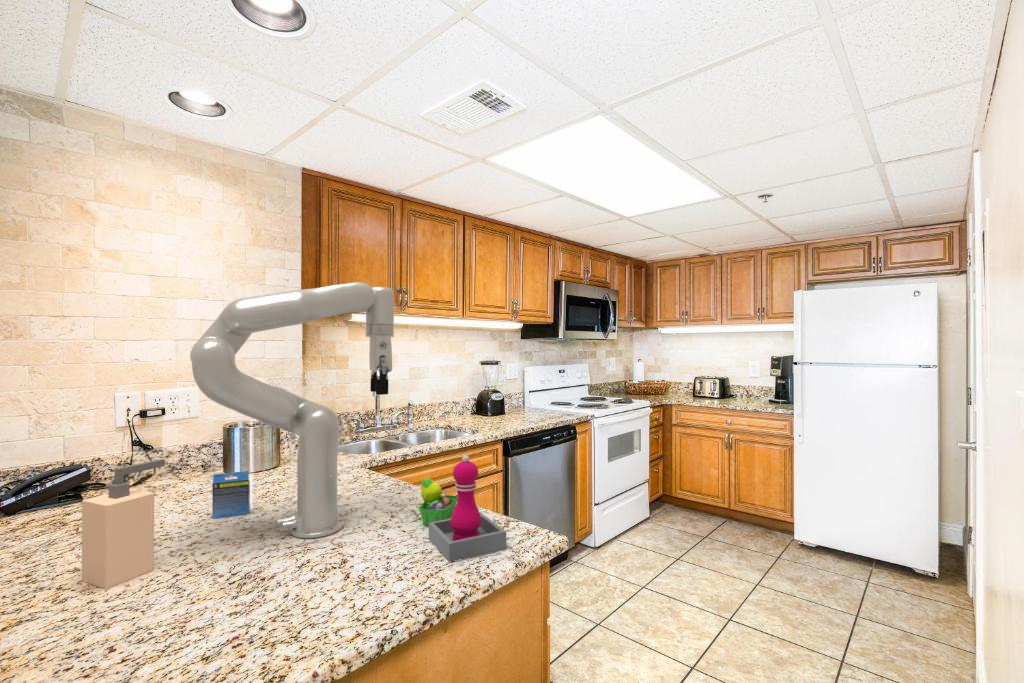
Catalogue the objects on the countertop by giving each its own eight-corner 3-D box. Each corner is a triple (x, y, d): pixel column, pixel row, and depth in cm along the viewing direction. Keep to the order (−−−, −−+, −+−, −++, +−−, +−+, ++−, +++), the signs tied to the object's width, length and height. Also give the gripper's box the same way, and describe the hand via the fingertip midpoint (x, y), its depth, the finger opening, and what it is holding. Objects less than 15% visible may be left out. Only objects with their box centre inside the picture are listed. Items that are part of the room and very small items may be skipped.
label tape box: (250, 510, 134) (250, 467, 134) (249, 514, 131) (249, 470, 131) (214, 515, 130) (214, 470, 131) (211, 519, 127) (212, 474, 127)
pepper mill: (451, 534, 114) (451, 452, 114) (481, 533, 114) (480, 451, 115) (449, 546, 107) (449, 459, 107) (481, 545, 107) (481, 458, 107)
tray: (449, 562, 101) (449, 543, 101) (428, 539, 113) (428, 522, 113) (506, 548, 108) (506, 531, 108) (481, 528, 120) (480, 512, 120)
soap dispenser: (106, 589, 90) (106, 475, 91) (81, 581, 94) (81, 471, 94) (175, 561, 102) (175, 460, 102) (150, 554, 105) (151, 457, 106)
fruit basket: (445, 529, 119) (445, 485, 119) (413, 527, 121) (412, 483, 121) (459, 514, 130) (459, 473, 131) (429, 512, 132) (429, 472, 132)
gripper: (399, 330, 124) (398, 395, 124) (387, 332, 140) (387, 390, 139) (370, 330, 121) (369, 396, 121) (361, 332, 137) (361, 390, 136)
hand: (379, 392), depth 130 cm, fingers open, 9 cm apart
